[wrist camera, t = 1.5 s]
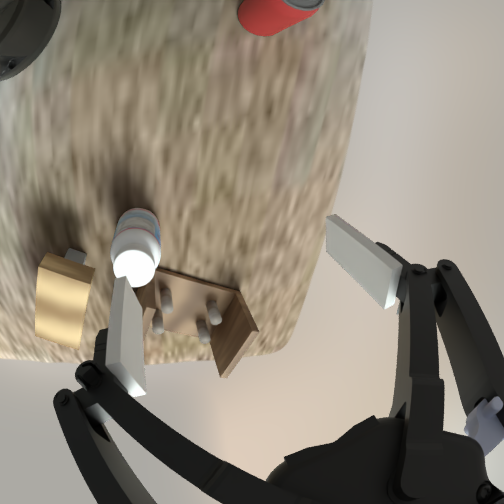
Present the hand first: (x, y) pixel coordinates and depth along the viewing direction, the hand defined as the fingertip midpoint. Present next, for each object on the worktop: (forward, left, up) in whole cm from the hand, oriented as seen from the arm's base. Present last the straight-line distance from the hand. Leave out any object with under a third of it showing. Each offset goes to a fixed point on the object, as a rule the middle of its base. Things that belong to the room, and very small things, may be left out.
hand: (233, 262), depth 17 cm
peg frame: (+7, -20, -22) cm, 31 cm away
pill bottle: (-4, -9, -23) cm, 25 cm away
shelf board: (-12, -20, -16) cm, 28 cm away
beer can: (-3, +24, -23) cm, 33 cm away
